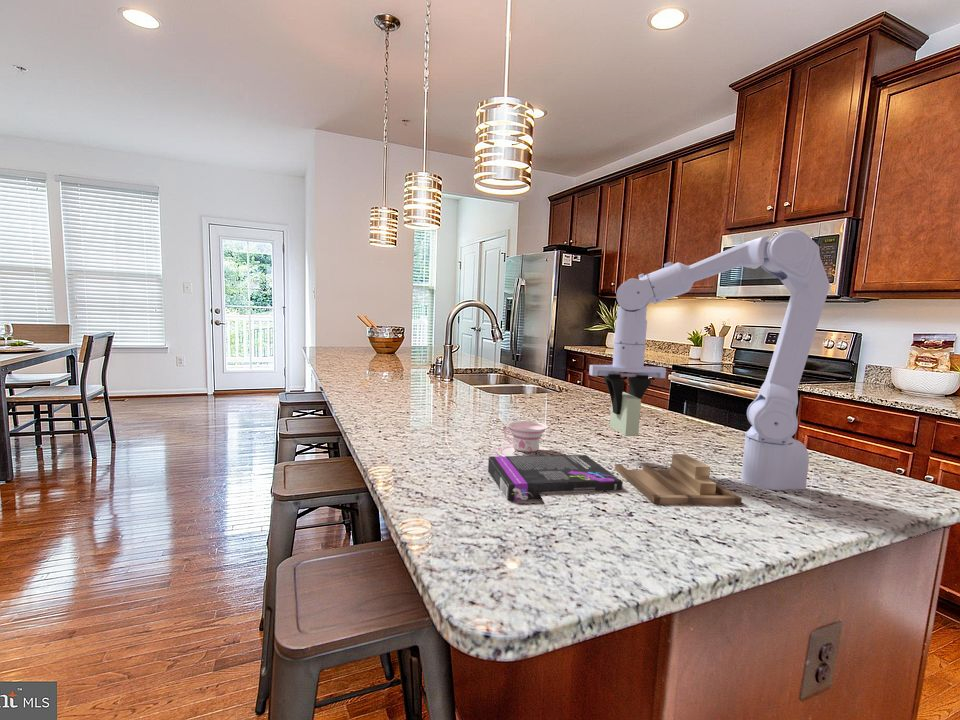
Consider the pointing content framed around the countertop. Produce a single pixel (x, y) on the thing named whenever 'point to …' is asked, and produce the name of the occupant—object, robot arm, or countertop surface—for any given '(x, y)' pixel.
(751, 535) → the countertop surface
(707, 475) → the offcut stack
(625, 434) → the pale green block
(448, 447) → the countertop surface
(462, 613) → the countertop surface
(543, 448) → the teacup
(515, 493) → the box
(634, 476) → the walnut rack
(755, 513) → the countertop surface
